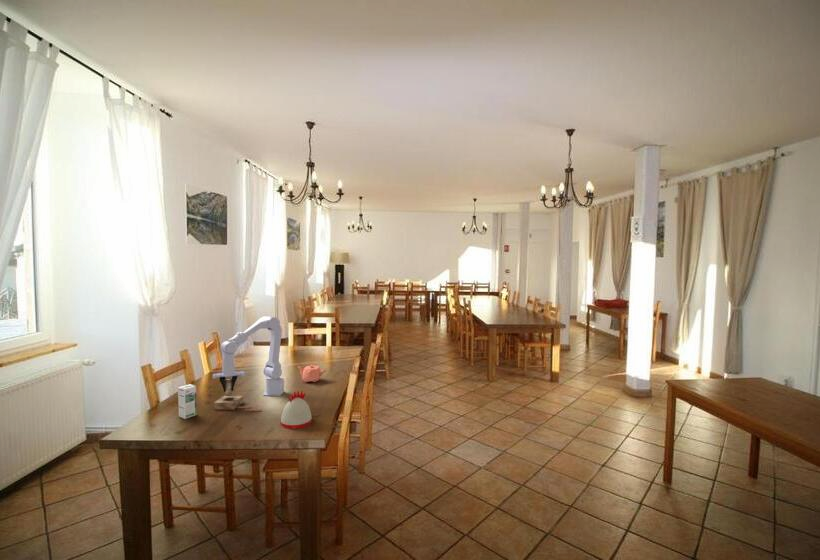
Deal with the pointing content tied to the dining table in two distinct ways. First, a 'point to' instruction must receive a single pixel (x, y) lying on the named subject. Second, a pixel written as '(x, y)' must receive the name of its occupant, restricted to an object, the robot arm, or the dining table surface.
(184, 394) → the syrup box
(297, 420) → the kitchen timer
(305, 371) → the teapot
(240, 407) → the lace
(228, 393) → the tan round log
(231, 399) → the wooden square frame
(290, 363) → the dining table surface
